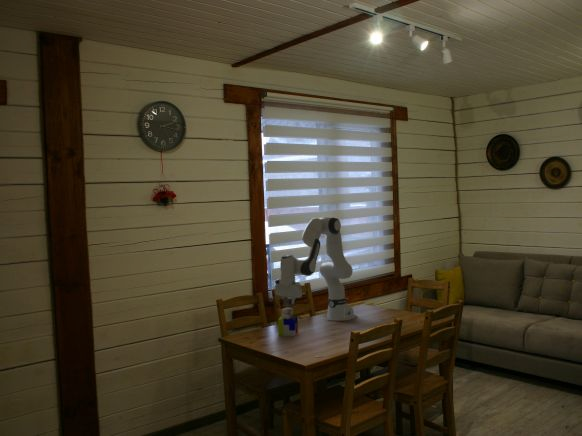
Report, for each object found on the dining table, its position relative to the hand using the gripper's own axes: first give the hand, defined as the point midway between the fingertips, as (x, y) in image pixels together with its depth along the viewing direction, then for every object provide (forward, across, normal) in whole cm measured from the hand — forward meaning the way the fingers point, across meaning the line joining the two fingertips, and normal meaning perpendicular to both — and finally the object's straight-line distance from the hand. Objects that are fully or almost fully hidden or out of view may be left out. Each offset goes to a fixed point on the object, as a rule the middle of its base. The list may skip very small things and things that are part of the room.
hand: (288, 303), depth 319 cm
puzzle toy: (+19, +1, 0) cm, 19 cm away
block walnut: (+2, 0, 0) cm, 2 cm away
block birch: (+9, +1, +1) cm, 9 cm away
